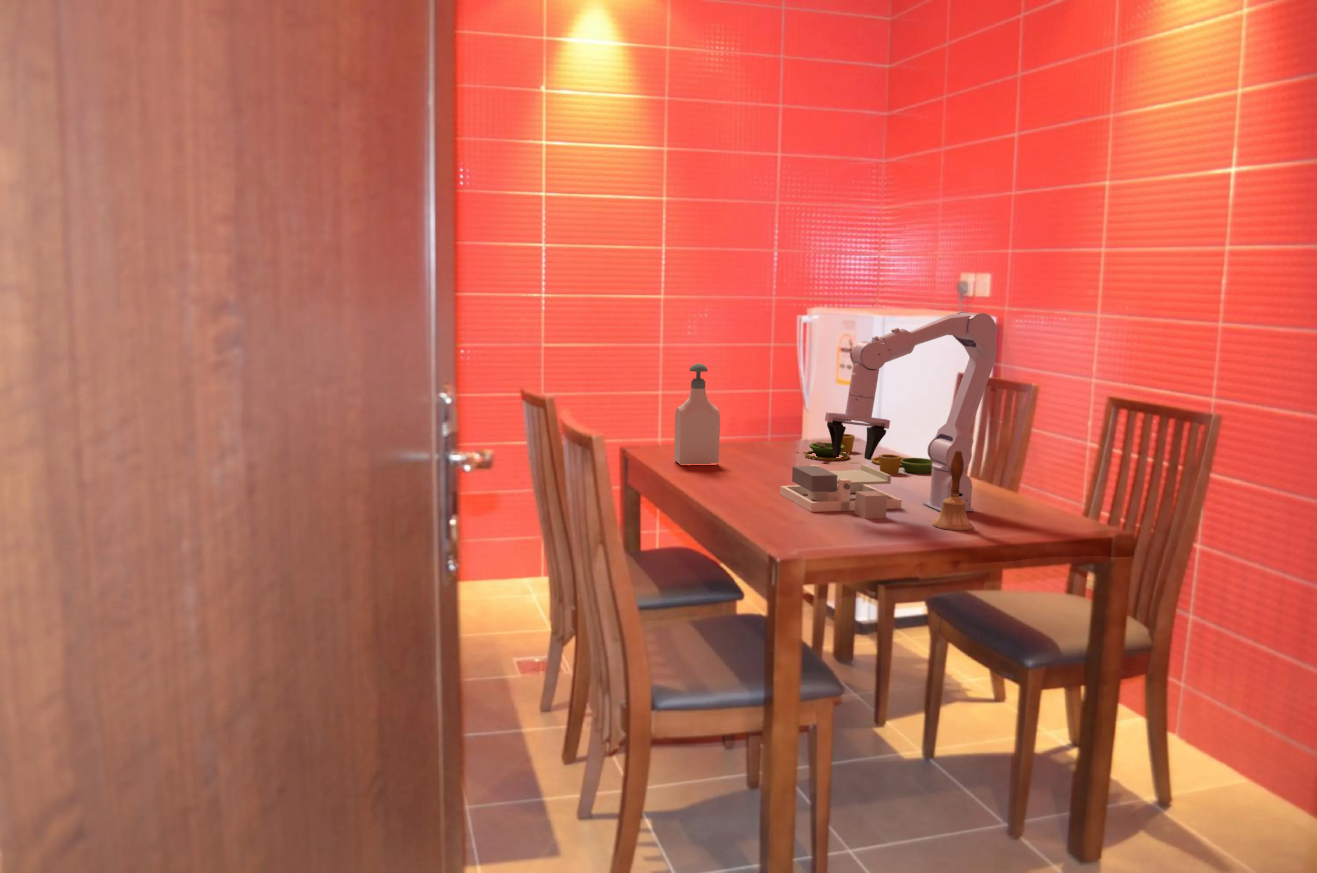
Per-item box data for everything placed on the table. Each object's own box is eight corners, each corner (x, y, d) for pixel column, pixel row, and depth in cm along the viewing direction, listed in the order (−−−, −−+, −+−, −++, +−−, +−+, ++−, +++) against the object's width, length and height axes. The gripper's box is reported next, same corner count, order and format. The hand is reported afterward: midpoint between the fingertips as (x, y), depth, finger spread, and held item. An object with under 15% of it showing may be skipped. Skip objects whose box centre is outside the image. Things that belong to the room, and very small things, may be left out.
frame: (902, 509, 236) (904, 479, 235) (812, 512, 231) (813, 482, 230) (863, 490, 256) (864, 463, 255) (778, 493, 251) (779, 465, 250)
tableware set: (789, 453, 312) (790, 432, 311) (873, 450, 320) (874, 430, 319) (854, 480, 273) (855, 456, 272) (948, 475, 281) (949, 452, 280)
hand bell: (965, 521, 225) (970, 448, 223) (978, 531, 217) (983, 454, 214) (927, 521, 225) (931, 447, 222) (938, 530, 216) (943, 454, 214)
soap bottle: (710, 460, 295) (713, 362, 290) (718, 465, 287) (721, 364, 282) (672, 461, 292) (674, 362, 288) (679, 466, 284) (681, 364, 280)
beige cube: (885, 518, 227) (887, 495, 226) (864, 519, 226) (865, 496, 225) (875, 513, 232) (876, 490, 231) (854, 513, 231) (855, 491, 230)
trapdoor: (890, 490, 238) (891, 474, 238) (813, 492, 234) (814, 476, 233) (863, 478, 252) (864, 463, 251) (790, 480, 247) (791, 465, 247)
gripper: (883, 398, 236) (874, 457, 238) (823, 390, 232) (814, 451, 234) (897, 401, 229) (887, 463, 231) (836, 394, 226) (826, 456, 227)
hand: (851, 457), depth 232 cm, fingers open, 7 cm apart
